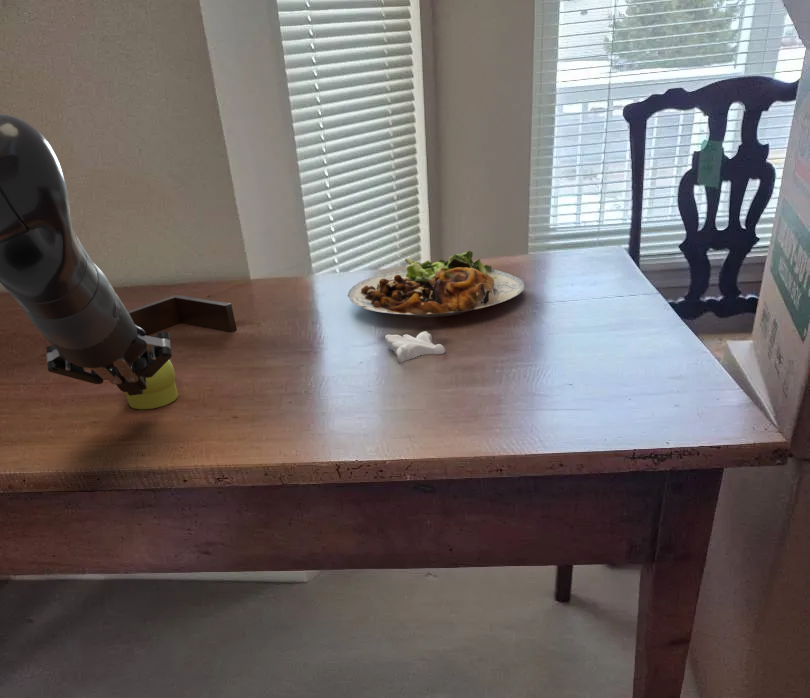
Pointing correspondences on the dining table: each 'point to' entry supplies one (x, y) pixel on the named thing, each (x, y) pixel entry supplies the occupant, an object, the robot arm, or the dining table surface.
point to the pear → (156, 389)
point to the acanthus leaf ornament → (413, 346)
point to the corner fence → (184, 314)
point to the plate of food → (436, 288)
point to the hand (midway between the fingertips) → (135, 387)
